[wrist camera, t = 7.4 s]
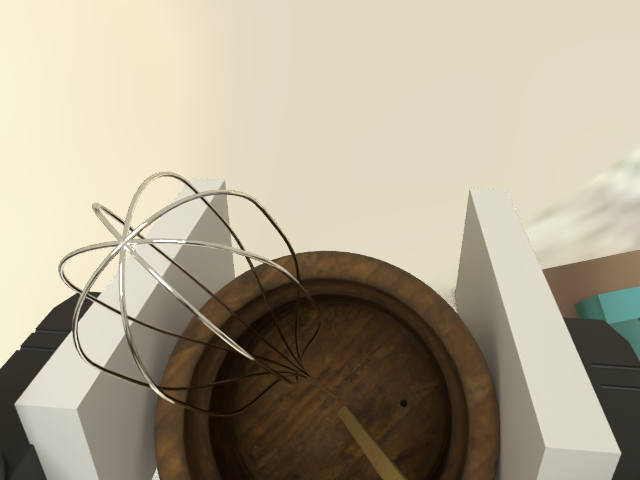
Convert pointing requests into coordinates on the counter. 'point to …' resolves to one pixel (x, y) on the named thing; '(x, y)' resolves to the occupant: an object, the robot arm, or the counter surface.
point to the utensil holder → (310, 369)
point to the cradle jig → (601, 292)
